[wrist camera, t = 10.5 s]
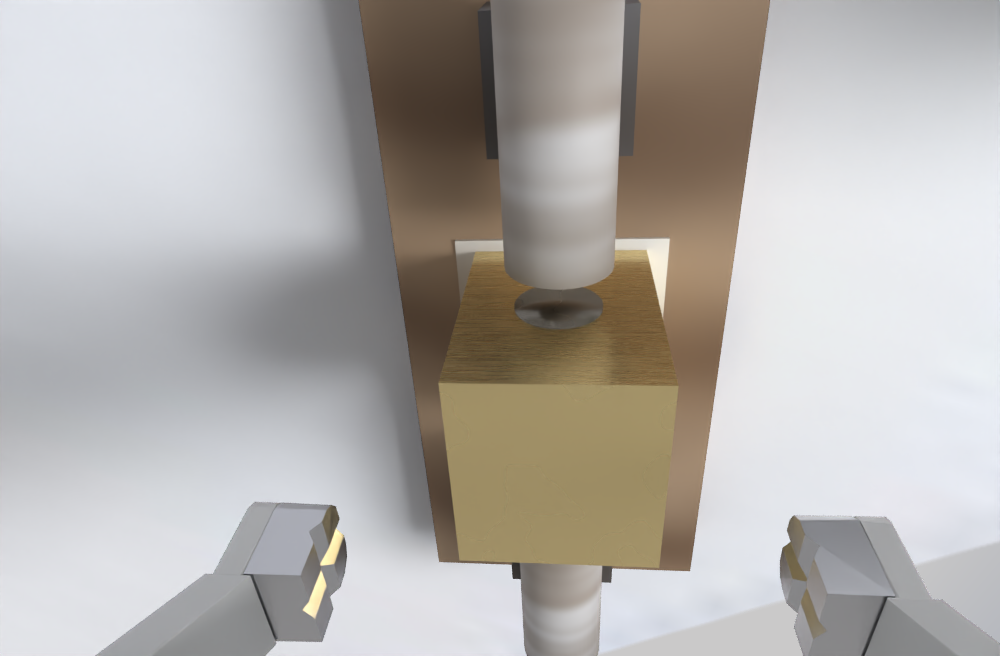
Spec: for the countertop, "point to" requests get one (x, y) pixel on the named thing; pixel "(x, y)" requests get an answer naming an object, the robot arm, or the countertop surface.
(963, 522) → the countertop surface
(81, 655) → the countertop surface
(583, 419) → the block
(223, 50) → the countertop surface
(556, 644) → the shaft mount
